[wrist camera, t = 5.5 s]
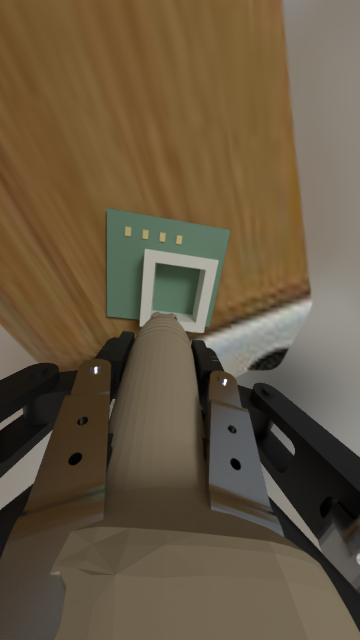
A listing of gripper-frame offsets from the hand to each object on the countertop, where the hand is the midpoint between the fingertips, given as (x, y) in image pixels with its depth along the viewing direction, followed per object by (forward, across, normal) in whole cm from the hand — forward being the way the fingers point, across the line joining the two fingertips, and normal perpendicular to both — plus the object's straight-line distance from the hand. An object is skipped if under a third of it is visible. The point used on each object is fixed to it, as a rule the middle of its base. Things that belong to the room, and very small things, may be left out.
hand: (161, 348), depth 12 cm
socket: (+18, -2, -1) cm, 18 cm away
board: (+19, 0, -3) cm, 19 cm away
